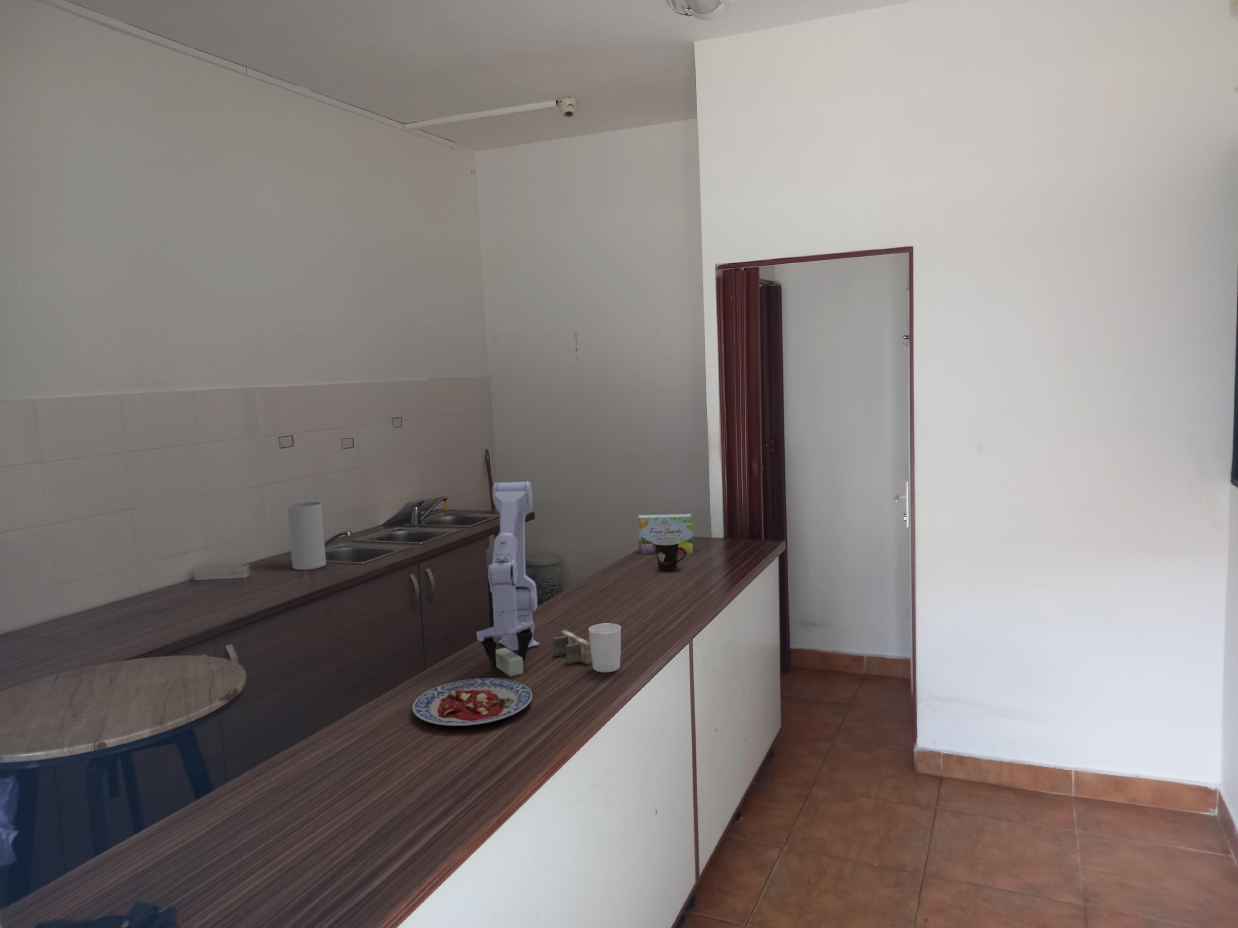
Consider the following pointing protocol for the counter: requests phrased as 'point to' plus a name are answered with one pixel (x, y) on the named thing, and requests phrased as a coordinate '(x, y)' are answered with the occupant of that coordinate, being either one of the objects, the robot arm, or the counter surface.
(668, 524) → the snack box
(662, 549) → the coffee mug
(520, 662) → the block
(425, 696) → the ceramic plate
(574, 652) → the wooden base
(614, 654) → the white cup
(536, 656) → the counter surface
